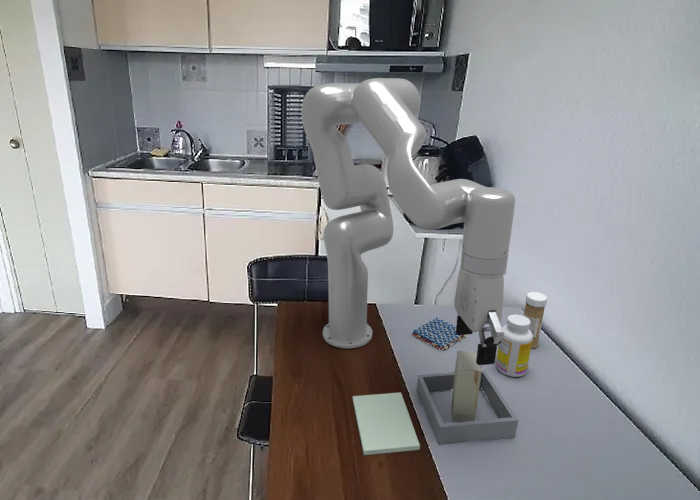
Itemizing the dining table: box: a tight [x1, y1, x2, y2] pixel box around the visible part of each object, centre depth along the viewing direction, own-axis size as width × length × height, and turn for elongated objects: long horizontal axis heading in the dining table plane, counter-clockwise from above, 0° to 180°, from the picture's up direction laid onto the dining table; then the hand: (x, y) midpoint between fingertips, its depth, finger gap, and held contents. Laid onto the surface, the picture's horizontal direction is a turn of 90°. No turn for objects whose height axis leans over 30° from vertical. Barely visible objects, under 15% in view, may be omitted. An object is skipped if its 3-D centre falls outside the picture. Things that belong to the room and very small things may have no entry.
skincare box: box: [450, 350, 483, 423], centre depth 84 cm, size 6×4×12 cm
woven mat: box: [411, 317, 467, 351], centre depth 112 cm, size 10×11×2 cm
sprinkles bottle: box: [523, 291, 548, 349], centre depth 106 cm, size 5×5×14 cm
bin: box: [416, 369, 519, 445], centre depth 86 cm, size 15×15×4 cm
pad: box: [352, 392, 421, 456], centre depth 83 cm, size 14×10×1 cm
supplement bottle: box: [495, 314, 533, 378], centre depth 97 cm, size 7×7×13 cm
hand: (474, 348), depth 80 cm, fingers open, 9 cm apart
